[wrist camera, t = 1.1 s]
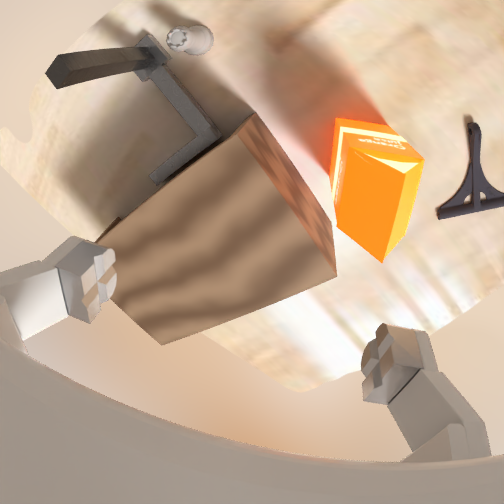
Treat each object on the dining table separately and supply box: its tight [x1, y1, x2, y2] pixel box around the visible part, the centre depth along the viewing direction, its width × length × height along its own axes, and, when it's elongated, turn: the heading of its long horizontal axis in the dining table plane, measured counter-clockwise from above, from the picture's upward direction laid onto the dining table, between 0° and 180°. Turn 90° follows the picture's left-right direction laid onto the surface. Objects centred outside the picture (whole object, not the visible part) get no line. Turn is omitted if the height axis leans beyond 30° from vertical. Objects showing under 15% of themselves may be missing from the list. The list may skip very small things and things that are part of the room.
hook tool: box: [45, 35, 222, 185], centre depth 33 cm, size 18×14×20 cm
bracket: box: [438, 123, 504, 220], centre depth 37 cm, size 14×15×3 cm
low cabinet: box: [94, 112, 337, 345], centre depth 45 cm, size 20×32×13 cm, turn 126°
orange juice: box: [329, 118, 425, 263], centre depth 32 cm, size 8×9×20 cm
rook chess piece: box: [166, 25, 214, 56], centre depth 31 cm, size 4×4×8 cm
